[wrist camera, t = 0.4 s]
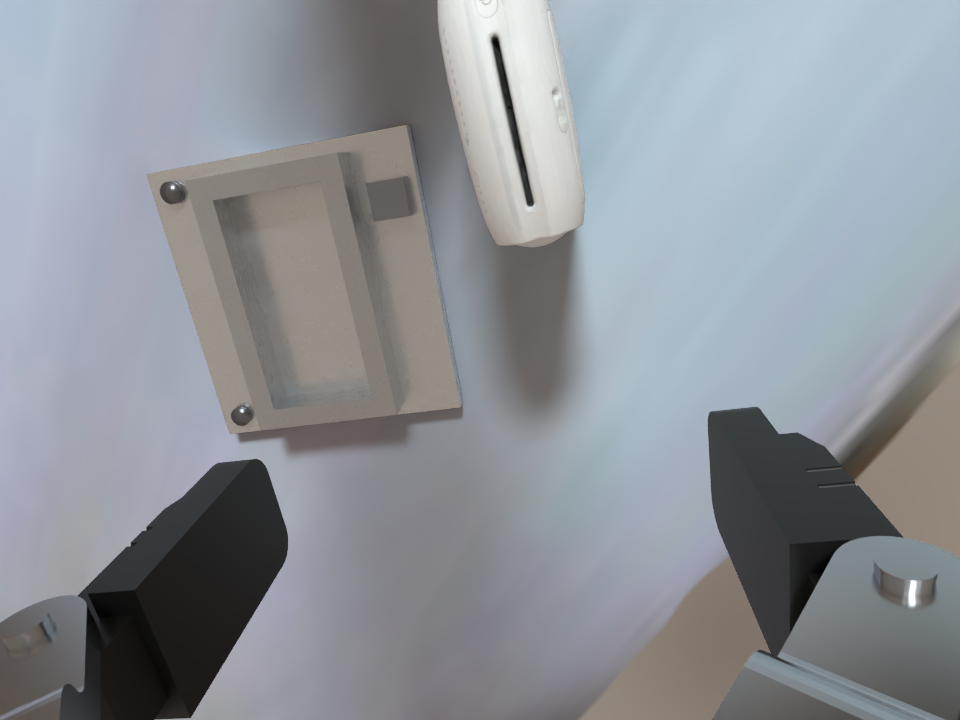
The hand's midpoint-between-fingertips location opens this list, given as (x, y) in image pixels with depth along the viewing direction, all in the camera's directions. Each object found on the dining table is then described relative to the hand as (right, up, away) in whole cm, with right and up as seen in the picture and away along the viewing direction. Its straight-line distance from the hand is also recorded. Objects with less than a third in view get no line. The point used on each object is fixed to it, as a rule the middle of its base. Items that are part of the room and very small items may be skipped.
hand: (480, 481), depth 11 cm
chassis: (-10, +6, +26) cm, 28 cm away
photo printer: (+2, +15, +22) cm, 26 cm away
